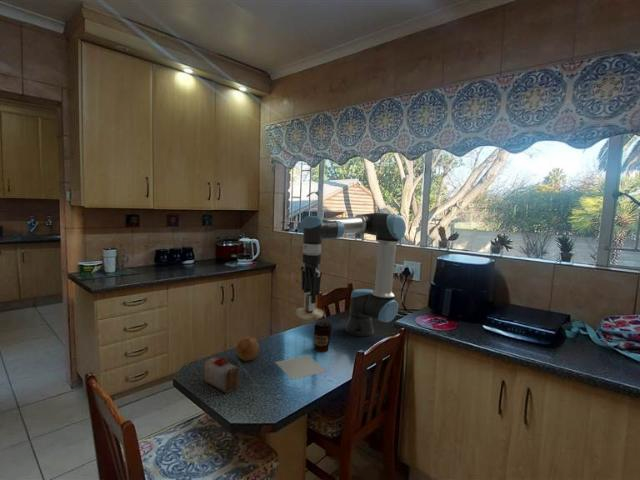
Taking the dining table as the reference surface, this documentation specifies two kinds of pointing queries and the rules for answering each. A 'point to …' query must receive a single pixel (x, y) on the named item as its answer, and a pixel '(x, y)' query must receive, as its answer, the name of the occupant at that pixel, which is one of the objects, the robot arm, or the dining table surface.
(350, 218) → the robot arm
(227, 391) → the food item
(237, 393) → the dining table surface
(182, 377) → the dining table surface
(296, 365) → the mat
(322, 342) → the coffee cup
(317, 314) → the lid
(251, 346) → the onion
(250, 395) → the dining table surface
